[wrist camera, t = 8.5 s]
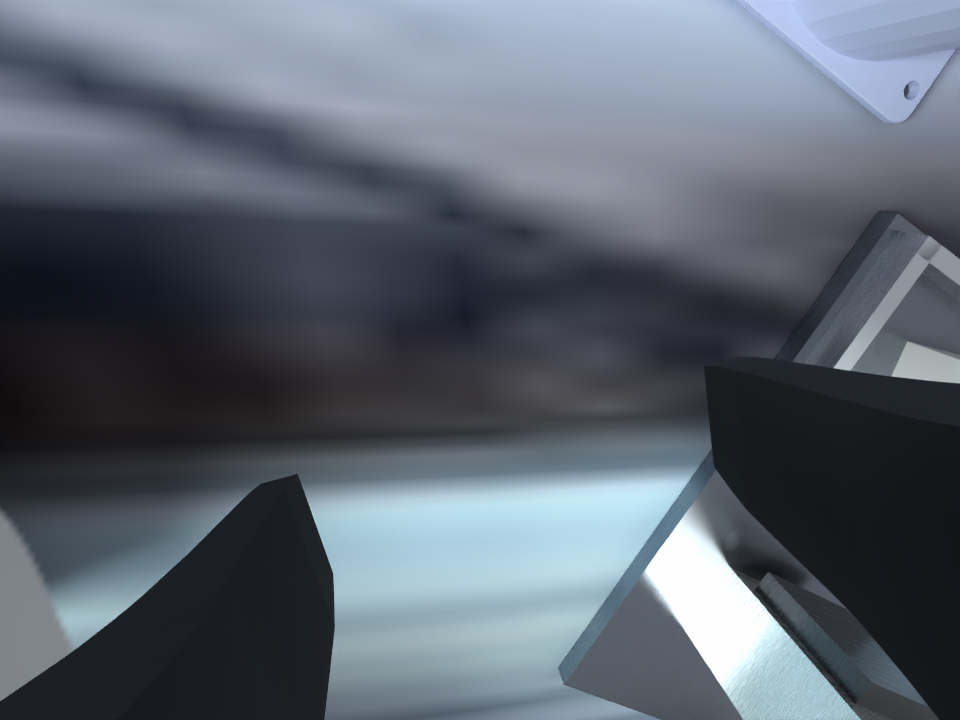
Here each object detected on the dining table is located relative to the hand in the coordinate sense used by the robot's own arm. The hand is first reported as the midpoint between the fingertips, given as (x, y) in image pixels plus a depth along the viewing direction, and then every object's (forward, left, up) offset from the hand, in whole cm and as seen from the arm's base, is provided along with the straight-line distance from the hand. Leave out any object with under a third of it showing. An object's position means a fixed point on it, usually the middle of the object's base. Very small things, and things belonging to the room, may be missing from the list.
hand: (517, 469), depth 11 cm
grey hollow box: (0, +16, -9) cm, 19 cm away
